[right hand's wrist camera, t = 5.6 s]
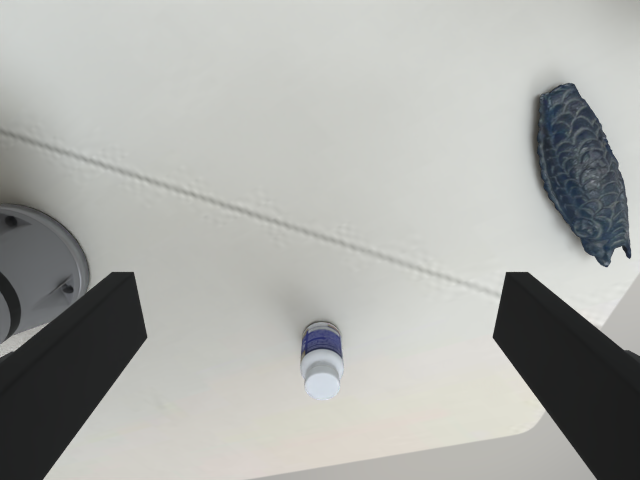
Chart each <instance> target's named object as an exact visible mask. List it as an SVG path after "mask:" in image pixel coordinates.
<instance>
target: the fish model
mask: <svg viewBox="0 0 640 480" xmlns="http://www.w3.org/2000/svg"><path fill="white" fill-rule="evenodd" d="M540 104H541V106H540V109H539V112H540V120H539V123H538V126H539V128H540V129H539V132H538V136H537V141H538V143H539V145H538V151H537V153H538V155H539V157H540V160H539V164H540V167H541V168H542V170H541V176H542V179H543V180H544V189H545V190H546V191H547V192H548V196H549V198H550V200H552V201H553V202H554V203H555V208H556V209H557V210H558V211H559V212H560V213H561V214H562V216H563V218H564V220H565V221H566V223H568V224H569V225H570V227H571V230H572V231H573V232H574V233H575V234H576V235H577V236H578V237H580V239H581V242H582V245H583V247H584V250H585V251H586V252H587V253H588V254H589V255H592V256H595V258H596V260H597V261H598V262H599V263H600V264H601V265H602V266H605V267H608V266H609V264H610V262H611V260H610V259H611V256H612V254H613V252H614V249H615V248H618V247H621V246H622V248H623V250H624V251H625V253H626V256H627V257H628V258H629V259H630V258H631V248H630V239H629V222H628V207H627V197H626V193H625V186H624V180H623V178H622V175H621V172H620V171H619V170H618V161H617V159H616V158H615V156H614V155H613V153H612V150H611V149H610V146H609V144H608V141H607V139H606V135H605V134H604V132H603V131H602V125H601V124H600V123H599V120H598V118H597V117H596V116H595V114H594V112H593V111H592V110H591V108H590V107H589V105H588V104H587V102H586V101H585V100H584V99H582V98H581V96H580V94H579V92H578V90H577V89H576V87H575V85H574V84H572V83H567V84H564V85H559V86H558V87H557V88H555V89H553V90H552V91H551V92H550V93H546V94H542V95H541V97H540Z"/></svg>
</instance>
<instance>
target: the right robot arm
mask: <svg viewBox="0 0 640 480" xmlns="http://www.w3.org/2000/svg"><path fill="white" fill-rule="evenodd" d="M88 283H89V270H88V264H87V261H86V258H85V255H84V253H83V251H82V249H81V247H80V246H79V244H78V243H77V241H76V240H75V238H74V237H73V236H72V235H71V234H70V233H69V232H68V231H67V230H66V229H65V228H64V227H63V226H62V225H61V224H60V223H58V222H57V221H55V220H54V219H52V218H51V217H49V216H48V215H46V214H44V213H42V212H40V211H37V210H35V209H32V208H29V207H26V206H22V205H16V204H0V344H1V343H3V342H4V341H5V340H7V339H8V338H9V337H11V336H12V335H15V334H18V333H21V332H23V331H26V330H29V329H32V328H34V327H37V326H40V325H43V324H46V323H48V322H50V323H49V324H48V325H47V326H45V327H44V328H43V329H42V330H40V331H39V332H38V333H37V334H36V335H34V336H33V337H32V338H31V339H29V340H28V341H27V342H26V343H24V344H23V345H22V346H21V347H20V348H18V349H17V350H16V351H15V352H10V353H8V354H6V355H4V356H3V357H1V358H0V480H43V479H44V477H45V476H46V475H47V473H48V472H49V471H50V469H51V468H52V467H53V465H54V464H55V462H56V461H57V460H58V458H59V457H60V456H61V454H62V453H63V452H64V450H65V449H66V447H67V446H68V445H69V443H70V442H71V441H72V439H73V438H74V437H75V435H76V434H77V432H78V431H79V430H80V428H81V427H82V426H83V424H84V423H85V422H86V420H87V419H88V418H89V416H90V415H91V413H92V412H93V411H94V409H95V408H96V407H97V405H98V404H99V403H100V401H101V400H102V398H103V397H104V396H105V394H106V393H107V392H108V390H109V389H110V388H111V386H112V385H113V384H114V382H115V381H116V379H117V378H118V377H119V375H120V374H121V373H122V371H123V370H124V369H125V367H126V366H127V364H128V363H129V362H130V360H131V359H132V358H133V356H134V355H135V354H136V352H137V351H138V350H139V348H140V347H141V345H142V344H143V343H144V341H145V340H146V339H147V333H146V328H145V324H144V319H143V314H142V309H141V304H140V300H139V295H138V290H137V285H136V280H135V276H134V272H112V273H110V274H109V275H108V276H107V277H105V278H104V279H103V280H102V281H101V282H99V283H98V284H97V285H96V286H94V287H93V288H92V289H91V290H89V291H88V292H87V293H86V290H87V287H88ZM85 293H86V294H85ZM493 339H494V340H495V341H496V343H497V344H498V345H499V347H500V348H501V350H502V351H503V352H504V354H505V355H506V356H507V358H508V359H509V360H510V362H511V363H512V364H513V366H514V367H515V369H516V370H517V371H518V373H519V374H520V375H521V377H522V378H523V379H524V381H525V382H526V384H527V385H528V386H529V388H530V389H531V390H532V392H533V393H534V394H535V396H536V397H537V398H538V400H539V401H540V403H541V404H542V405H543V407H544V408H545V409H546V411H547V412H548V413H549V415H550V416H551V418H552V419H553V420H554V422H555V423H556V424H557V426H558V427H559V428H560V430H561V431H562V432H563V434H564V435H565V437H566V438H567V439H568V441H569V442H570V443H571V445H572V446H573V447H574V449H575V450H576V452H577V453H578V454H579V456H580V457H581V458H582V460H583V461H584V462H585V464H586V465H587V467H588V468H589V469H590V471H591V472H592V473H593V475H594V476H595V477H596V479H597V480H640V356H638V355H637V354H635V353H633V352H631V351H629V350H623V349H622V348H620V347H619V346H618V345H617V344H616V343H614V342H613V341H612V340H611V339H609V338H608V337H607V336H606V335H604V334H603V333H602V332H601V331H600V330H598V329H597V328H596V327H595V326H593V325H592V324H591V323H590V322H589V321H587V320H586V319H585V318H584V317H582V316H581V315H580V314H579V313H578V312H576V311H575V310H574V309H573V308H571V307H570V306H569V305H568V304H566V303H565V302H564V301H563V300H562V299H560V298H559V297H558V296H557V295H555V294H554V293H553V292H552V291H551V290H549V289H548V288H547V287H546V286H544V285H543V284H542V283H541V282H539V281H538V280H537V279H536V278H535V277H533V276H532V275H531V274H530V273H528V272H506V276H505V280H504V285H503V290H502V295H501V300H500V304H499V309H498V314H497V319H496V324H495V328H494V333H493Z"/></svg>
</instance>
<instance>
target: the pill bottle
mask: <svg viewBox="0 0 640 480" xmlns="http://www.w3.org/2000/svg"><path fill="white" fill-rule="evenodd" d="M300 370H301V375H302V377H303V378H304V380H305V390H306V392H307V394H308V395H309V396H311V397H312V398H314V399H317V400H327V399H330V398H332V397H334V396H335V395H336V394H337V393H338V392H339V389H340V379H341V377H342V375H343V372H344V362H343V352H342V339H341V334H340V331H339V330H338V329H337V328H336V327H335V326H334V325H332V324H330V323H326V322H318V323H314V324H312V325H310V326H309V327H308V328H307V329H306V330H305V331H304V333H303V338H302V349H301V364H300Z"/></svg>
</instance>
